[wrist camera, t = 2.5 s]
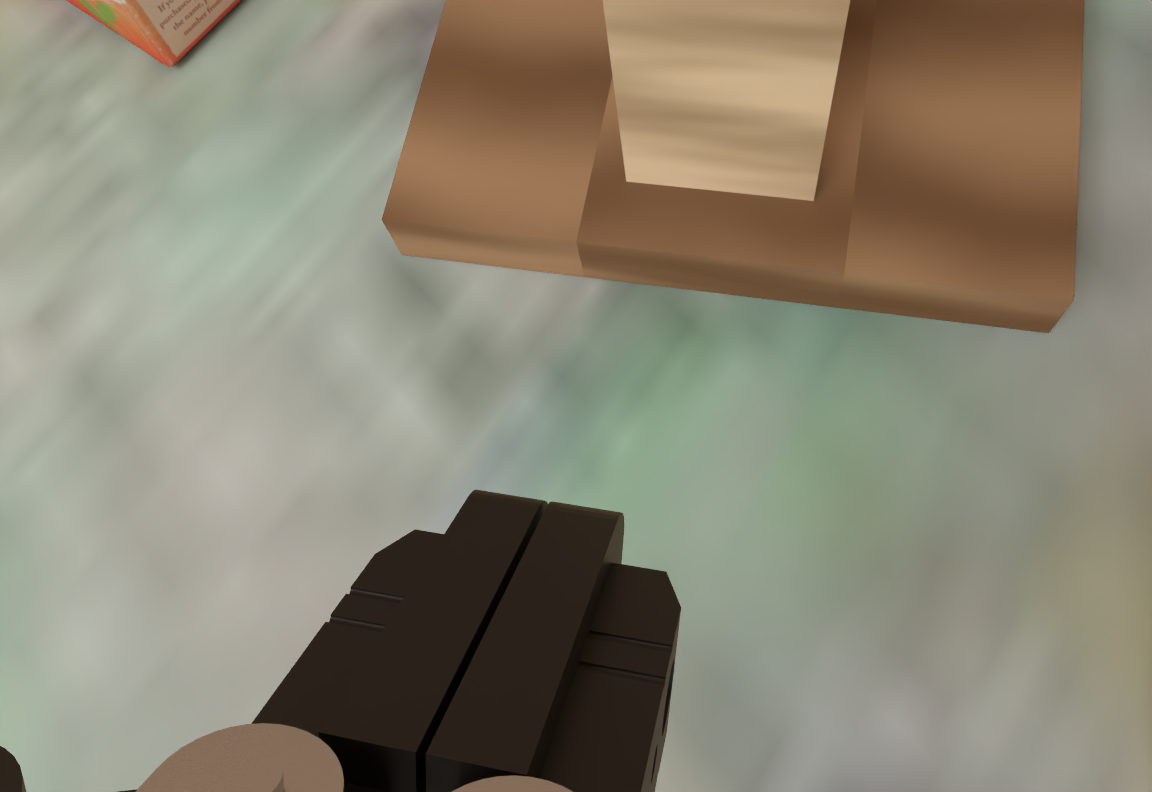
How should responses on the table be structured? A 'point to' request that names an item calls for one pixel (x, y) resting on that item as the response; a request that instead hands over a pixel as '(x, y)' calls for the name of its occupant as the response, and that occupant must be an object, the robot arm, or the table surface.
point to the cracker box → (159, 22)
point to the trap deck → (753, 222)
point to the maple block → (725, 91)
